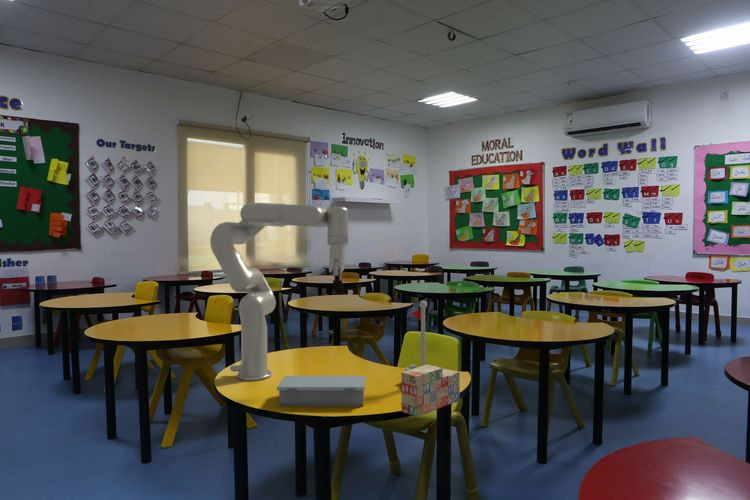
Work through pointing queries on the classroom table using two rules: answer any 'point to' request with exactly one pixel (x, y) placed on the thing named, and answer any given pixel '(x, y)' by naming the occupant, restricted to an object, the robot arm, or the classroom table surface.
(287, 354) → the classroom table surface
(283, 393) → the grey open box
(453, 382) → the stack of blocks
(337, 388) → the grey flat panel
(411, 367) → the flag stand
